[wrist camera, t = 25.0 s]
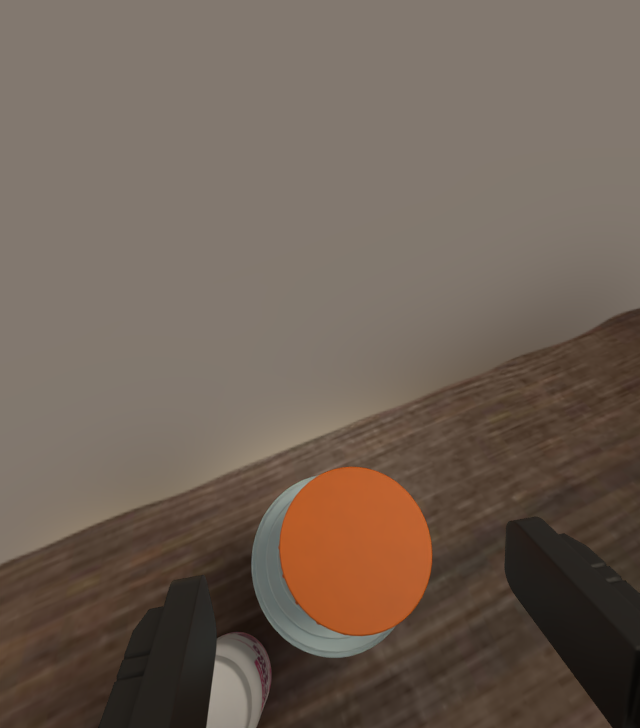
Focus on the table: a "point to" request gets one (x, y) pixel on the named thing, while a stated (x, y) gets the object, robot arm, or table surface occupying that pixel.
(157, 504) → the table surface
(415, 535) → the cap
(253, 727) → the pill bottle
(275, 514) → the water bottle
